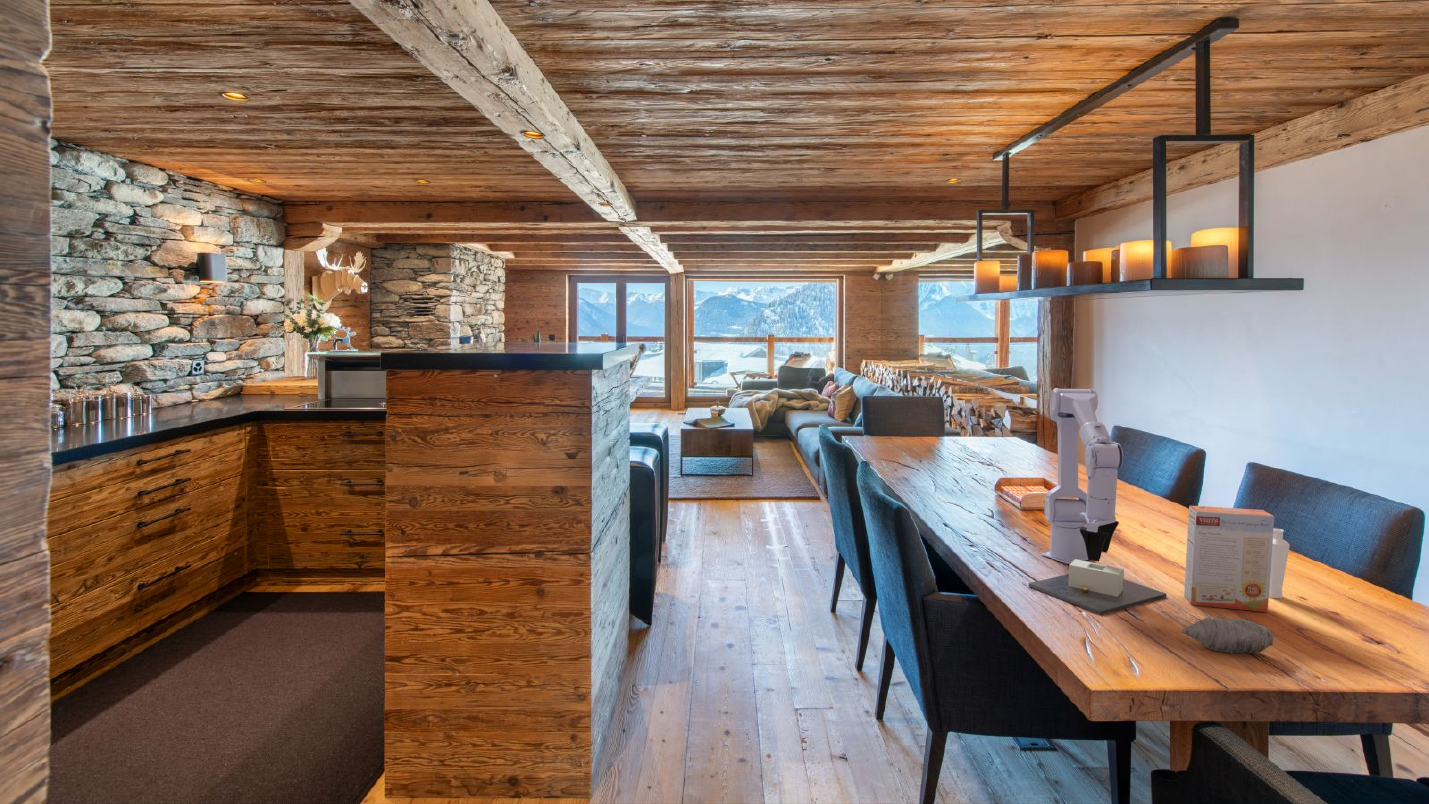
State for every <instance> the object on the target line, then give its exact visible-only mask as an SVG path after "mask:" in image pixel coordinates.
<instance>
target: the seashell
mask: <svg viewBox="0 0 1429 804" xmlns="http://www.w3.org/2000/svg"><path fill="white" fill-rule="evenodd" d="M1181 633H1182V634H1184V635H1186V636H1187V637H1188V638H1191V639H1193V640H1194V641H1196V642H1198V643H1200V644H1201V645H1203V647H1205V648H1208V649H1210V650H1212V651H1214V652H1216V651H1217V652H1223V653H1224V654H1225V653H1233V654H1254V653H1255V654H1261V653H1262V652H1263V651H1265V650H1266V649H1268V648H1269V647H1271V646H1273V644H1274V642H1275V636H1274V633H1273V632H1271V630H1270V629H1269V628H1267V627H1266V626H1264V625H1259V624H1258V623H1256V622H1253V621H1249V620H1247V619H1228V618H1224V617H1223V618H1220V617H1216V618H1211V617H1204V618H1203V619H1202V620H1198V621H1195V622H1194V623H1192V624H1190V625H1189V626H1186V627H1184V628H1183V629H1182V632H1181Z"/></svg>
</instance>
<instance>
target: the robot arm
mask: <svg viewBox="0 0 1429 804" xmlns="http://www.w3.org/2000/svg"><path fill="white" fill-rule="evenodd" d="M1098 404H1099V397H1098V392H1097V391H1096V390H1095V388H1058V387H1055V388H1054V389H1053V390H1051V393H1050V396H1049V416H1050V418H1049V419H1050V420H1052V421H1054V422H1056V427H1057V485H1055V486H1054V487H1053V488H1051V489H1050V490H1048V491H1047V493H1046V494H1045V502H1044V505H1043V506H1044V509H1043V510H1044V516H1045V520H1047V522H1048V523H1050V534H1049V535H1050V538H1049V540H1050V541H1049V551H1047V552H1042V553H1041V556H1043V557H1046V558H1049V559H1053V560H1055V561H1057V562H1058V561H1059V562H1061V563H1062V564H1067V565H1068V564H1069V565H1070V564H1071V563H1072V562H1073V561H1074V560H1075V559H1077V560H1082V561H1094V562H1100V560H1101V557H1102V553H1105V554H1106V553H1108V551H1109V548H1110V545H1111V541H1112V538H1113V536H1114V532H1115V531H1116V529H1117V527H1119V524H1120V521H1117V518H1116V507H1117V505H1116V503H1117V488H1118V487H1117V486H1118V472H1119V471H1118V470H1121V469H1122V467H1123V465H1124V452H1123V448H1122V445H1121V444H1120V443H1117V442H1116V441H1114V440H1112V438H1111V436H1110V434H1109V432H1108V430H1107V427H1106V426H1105V424H1103V423H1102V422H1099V421H1098V419H1097V416H1096V411H1097V409H1098ZM1079 426H1080V428H1079ZM1079 437H1080V440H1081V443H1082V445H1083V447H1084V450H1085V451H1084V452H1085V453H1084V461H1085V462H1084V463H1085V473H1086V474H1085V475H1087V484H1086V485H1087V490H1086V491H1084V490H1083V489H1081V488H1080V487H1079ZM1073 498H1074V499H1073Z"/></svg>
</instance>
